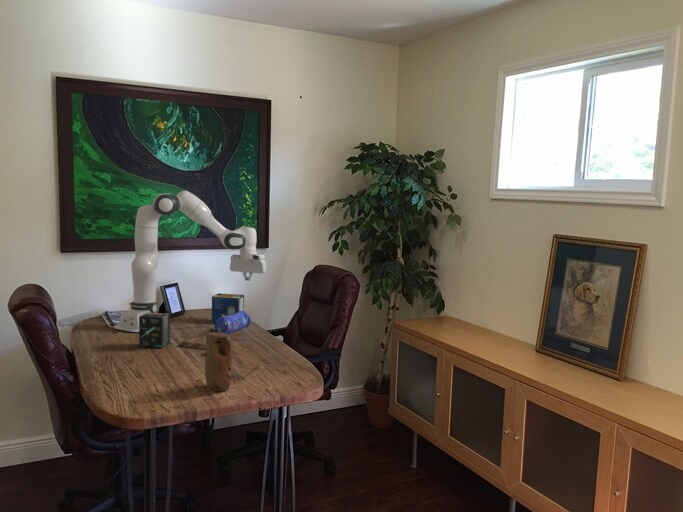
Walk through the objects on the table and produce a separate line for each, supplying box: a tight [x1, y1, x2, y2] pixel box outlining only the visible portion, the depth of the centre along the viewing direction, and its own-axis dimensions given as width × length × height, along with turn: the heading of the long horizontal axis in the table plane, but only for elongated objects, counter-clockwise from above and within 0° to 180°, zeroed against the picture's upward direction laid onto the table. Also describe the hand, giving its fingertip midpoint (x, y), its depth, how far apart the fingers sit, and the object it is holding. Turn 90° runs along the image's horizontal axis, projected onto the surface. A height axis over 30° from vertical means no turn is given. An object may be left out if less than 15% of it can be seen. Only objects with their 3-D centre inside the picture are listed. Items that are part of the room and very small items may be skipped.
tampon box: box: [138, 312, 171, 349], centre depth 256 cm, size 11×9×15 cm
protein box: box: [210, 293, 245, 325], centre depth 307 cm, size 10×15×16 cm
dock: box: [180, 327, 242, 350], centre depth 269 cm, size 16×29×2 cm, turn 166°
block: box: [204, 331, 233, 392], centre depth 203 cm, size 11×8×20 cm
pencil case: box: [214, 311, 251, 334], centre depth 290 cm, size 22×9×10 cm, turn 154°
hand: (247, 280), depth 305 cm, fingers closed
